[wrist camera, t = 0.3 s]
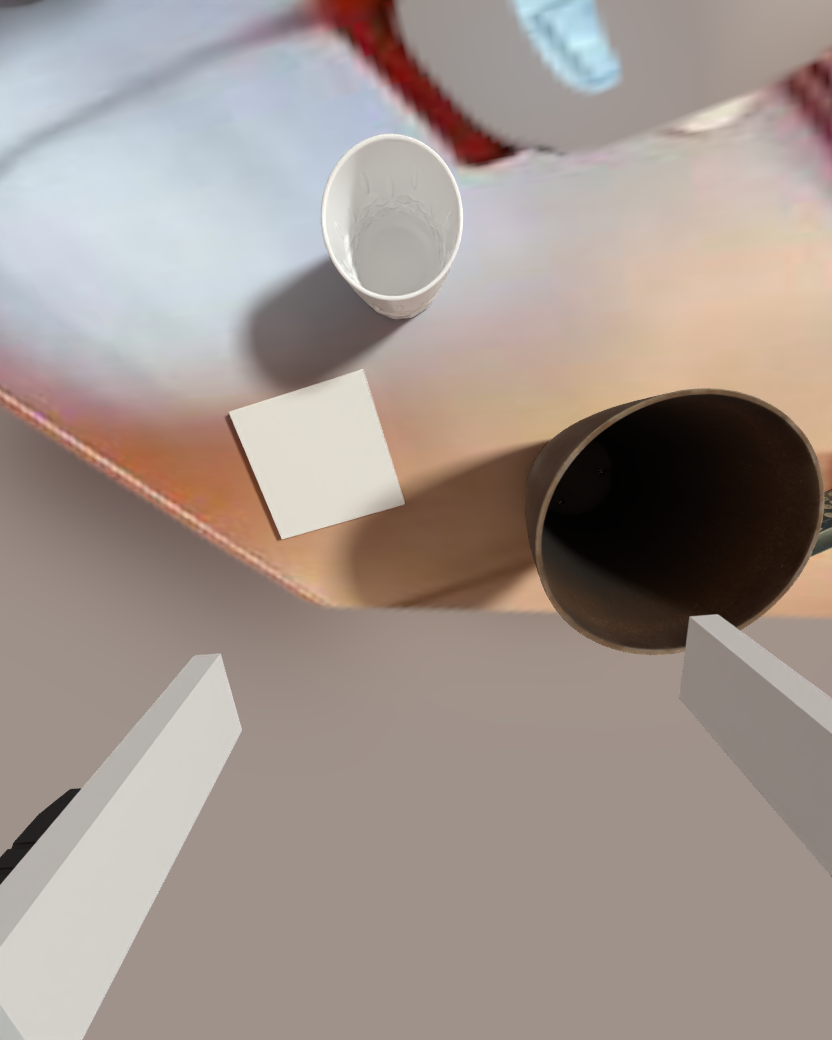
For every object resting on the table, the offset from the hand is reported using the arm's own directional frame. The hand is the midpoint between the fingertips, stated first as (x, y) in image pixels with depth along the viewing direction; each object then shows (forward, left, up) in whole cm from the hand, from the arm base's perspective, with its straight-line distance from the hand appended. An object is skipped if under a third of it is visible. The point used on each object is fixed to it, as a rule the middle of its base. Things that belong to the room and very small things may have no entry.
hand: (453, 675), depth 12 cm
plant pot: (+3, +12, -27) cm, 30 cm away
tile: (-5, -9, -27) cm, 28 cm away
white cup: (-17, +2, -27) cm, 32 cm away
